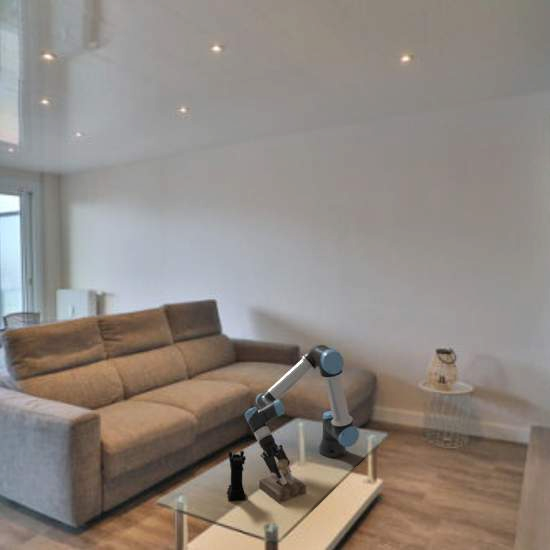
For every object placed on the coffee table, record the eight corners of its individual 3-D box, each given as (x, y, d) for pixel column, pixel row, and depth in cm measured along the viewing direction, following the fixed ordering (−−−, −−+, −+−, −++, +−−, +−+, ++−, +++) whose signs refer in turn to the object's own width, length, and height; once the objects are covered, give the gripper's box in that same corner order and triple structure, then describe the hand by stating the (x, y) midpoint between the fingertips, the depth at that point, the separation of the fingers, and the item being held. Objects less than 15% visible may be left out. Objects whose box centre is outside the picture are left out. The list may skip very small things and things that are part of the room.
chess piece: (228, 501, 218) (229, 459, 217) (226, 492, 226) (227, 451, 225) (245, 500, 220) (246, 458, 218) (243, 491, 228) (244, 450, 226)
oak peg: (283, 484, 232) (284, 458, 231) (288, 488, 228) (289, 461, 227) (276, 486, 229) (276, 460, 228) (281, 490, 226) (282, 464, 225)
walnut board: (285, 479, 240) (285, 471, 240) (306, 493, 227) (306, 484, 227) (259, 488, 230) (259, 480, 230) (279, 503, 218) (279, 494, 217)
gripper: (272, 436, 244) (296, 479, 234) (248, 446, 232) (271, 492, 222) (280, 429, 240) (304, 472, 230) (255, 439, 228) (280, 485, 217)
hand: (288, 482), depth 226 cm, fingers closed on oak peg, 4 cm apart
